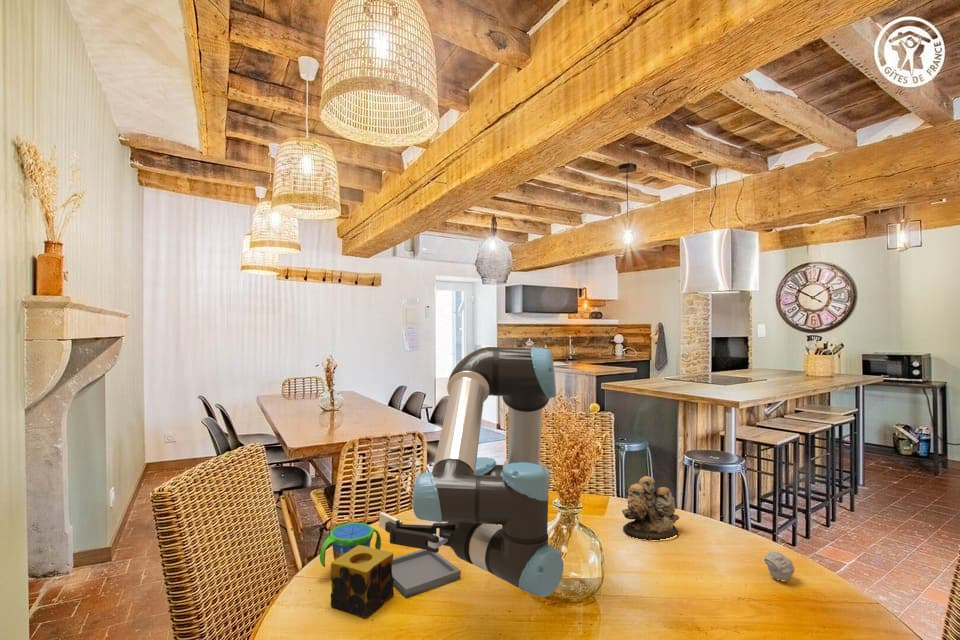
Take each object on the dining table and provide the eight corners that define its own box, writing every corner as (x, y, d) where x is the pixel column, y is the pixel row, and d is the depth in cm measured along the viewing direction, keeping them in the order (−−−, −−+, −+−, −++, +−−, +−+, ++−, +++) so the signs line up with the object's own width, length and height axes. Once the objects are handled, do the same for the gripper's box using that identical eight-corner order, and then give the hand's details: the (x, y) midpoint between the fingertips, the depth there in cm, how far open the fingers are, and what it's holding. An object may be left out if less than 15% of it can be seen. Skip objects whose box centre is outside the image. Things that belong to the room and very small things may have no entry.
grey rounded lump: (757, 575, 122) (758, 548, 122) (780, 572, 123) (780, 545, 123) (778, 588, 116) (778, 559, 116) (801, 585, 117) (801, 556, 117)
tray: (429, 554, 130) (429, 547, 130) (460, 578, 117) (460, 570, 118) (378, 570, 121) (378, 562, 121) (405, 598, 109) (406, 589, 109)
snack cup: (373, 554, 129) (373, 517, 129) (388, 572, 120) (389, 531, 120) (313, 570, 120) (314, 529, 120) (325, 590, 111) (326, 546, 112)
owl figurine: (632, 544, 138) (632, 484, 139) (613, 527, 150) (613, 472, 150) (687, 539, 142) (687, 481, 142) (665, 523, 153) (665, 470, 154)
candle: (394, 596, 110) (395, 552, 110) (366, 620, 100) (367, 572, 101) (359, 585, 114) (359, 543, 114) (329, 607, 105) (330, 561, 105)
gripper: (427, 591, 76) (355, 547, 91) (525, 542, 94) (451, 512, 109) (428, 543, 76) (356, 507, 91) (525, 504, 94) (452, 479, 109)
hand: (408, 510), depth 100 cm, fingers open, 13 cm apart
